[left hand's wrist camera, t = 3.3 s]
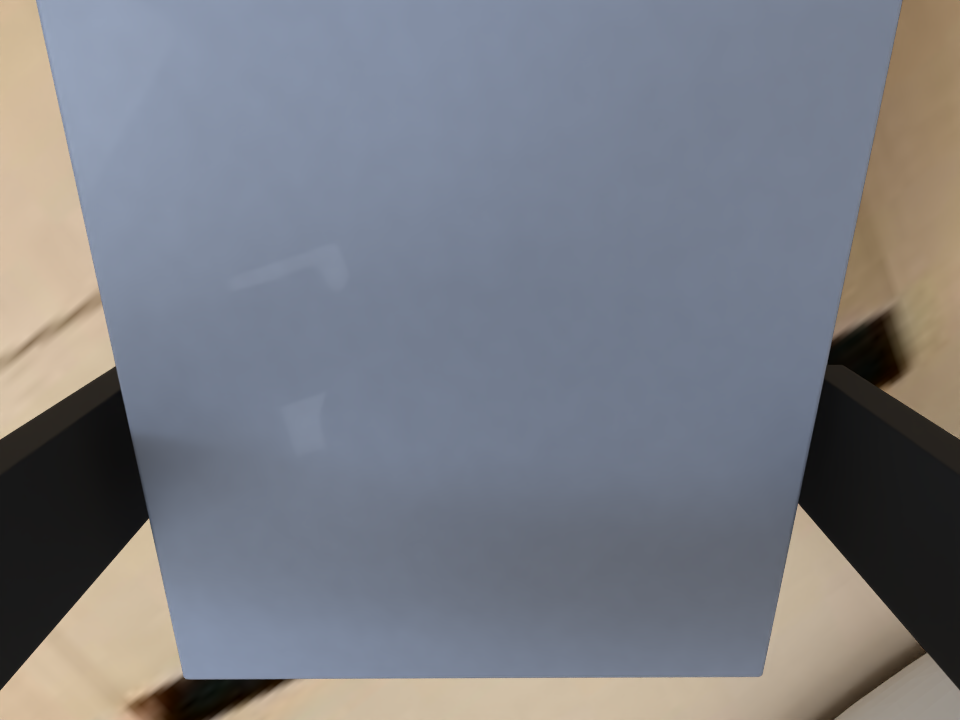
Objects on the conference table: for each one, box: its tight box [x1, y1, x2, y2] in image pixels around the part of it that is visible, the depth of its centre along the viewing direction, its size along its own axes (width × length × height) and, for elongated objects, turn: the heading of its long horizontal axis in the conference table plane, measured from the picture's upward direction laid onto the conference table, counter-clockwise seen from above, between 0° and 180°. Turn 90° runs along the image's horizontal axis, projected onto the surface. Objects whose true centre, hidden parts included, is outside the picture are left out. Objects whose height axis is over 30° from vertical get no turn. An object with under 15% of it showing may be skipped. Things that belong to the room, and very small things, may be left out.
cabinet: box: [36, 0, 902, 679], centre depth 13 cm, size 20×11×10 cm, turn 0°
